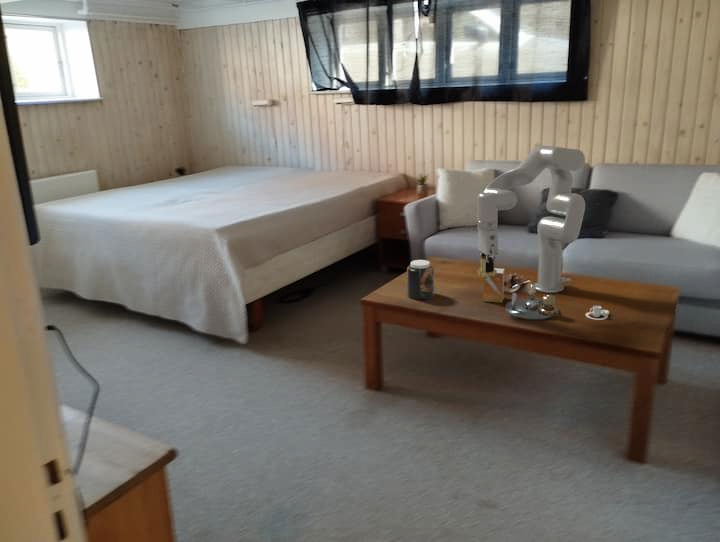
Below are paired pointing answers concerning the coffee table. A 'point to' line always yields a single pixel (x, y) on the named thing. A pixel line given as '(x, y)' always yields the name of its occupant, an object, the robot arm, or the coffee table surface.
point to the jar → (420, 280)
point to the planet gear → (481, 270)
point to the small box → (494, 287)
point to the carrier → (532, 307)
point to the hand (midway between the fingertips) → (486, 269)
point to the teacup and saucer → (598, 313)
